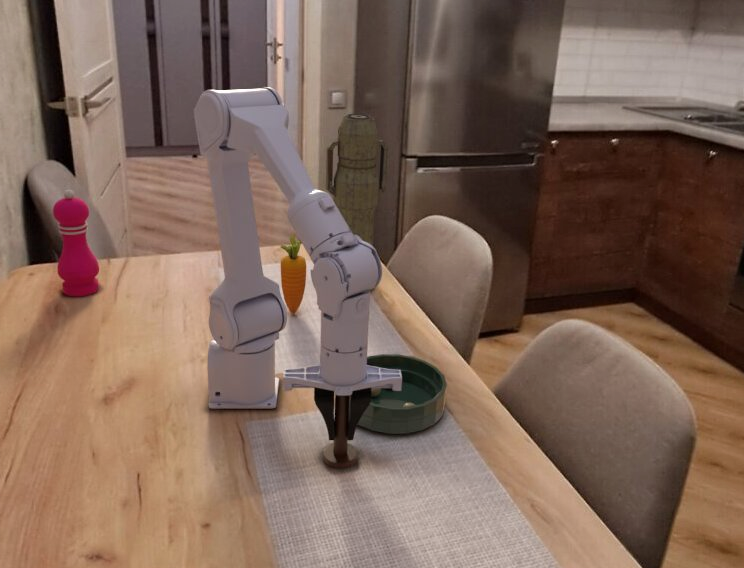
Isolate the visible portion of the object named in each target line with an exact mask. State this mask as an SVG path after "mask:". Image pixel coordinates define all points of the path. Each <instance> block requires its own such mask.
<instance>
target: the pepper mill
mask: <svg viewBox="0 0 744 568" xmlns="http://www.w3.org/2000/svg"><path fill="white" fill-rule="evenodd" d="M52 214H53V218H54V219H55V220H56V221H57V222H58V224H57V227H58V232H59V234H61V238H62V245H63V246H62V251H61V254H60V256H59V259H58V262H57V275H58V277H59V278H60V279H61V280H63V281H62V283H61V286H62V293H63V294H64V295H66V296H69V297H87V296H90V295H92V294H95V293H97V292H98V291H99V289H100V287H99V280H98V278H96V277H97V276H98V274H99V272H100V265H99V262H98V259H97V258H96V256H95V254H94V253H93V251H92V250H91V248H90V246H89V244H88V240H87V231H89V227H88V225H89V224H88V222H87V219H88V218H89V216H90V209H89V206H88V204H87V203H86V202H85V201H84V200H83V199H81V198H79V197H75V191H73V190H72V189H66V190H64V192H63V198H60V199H58V200H57V201H56V202H55V204H54V205H53V208H52Z"/></svg>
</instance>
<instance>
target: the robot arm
mask: <svg viewBox="0 0 744 568" xmlns="http://www.w3.org/2000/svg"><path fill="white" fill-rule="evenodd" d="M193 116H194V123H195V129H196V135H197V143H198V147H199V154H200V156H201V157H203V158H206V163H207V170H208V175H209V182H210V188H211V189H210V190H211V196H212V202H213V203H212V204H213V209H214V215H215V221H216V228H217V234H218V235H217V236H218V240H219V249H220V253H221V254H220V255H221V261H222V267H223V273H224V279H223V280H222V281H221V283H220V284H219V285H218V286H217V287H216V288H215V289H214V290H213V291H212V293H210V295H209V297H208V299H209V316H208V327H209V331H210V334H211V337H212V339H211V340H210V342H209V345H208V351H207V385H208V408H209V409H213V410H214V409H215V410H216V409H220V410H221V409H226V410H227V409H231V410H234V409H236V410H237V409H241V410H242V409H246V410H247V409H249V410H251V409H252V410H253V409H255V410H256V409H259V410H260V409H276V408H277V402H278V395H279V387H280V378H279V377H276V341H278V340H280V332H282V331H283V330H284V329H285V328H286V327H287V322H288V311H287V309H288V308H287V305H286V303H285V301H284V299H283V297H282V293H281V289H280V284H279V283H277V282H276V281H274V280H273V279H271V278H270V277H268V276H265V275H264V271H263V270H264V269H263V264H262V263H263V262H262V256H261V249H260V242H259V241H260V240H259V235H258V226H257V220H256V213H255V212H256V211H255V206H254V199H253V191H252V185H251V176H250V170H249V162H250V161H251V159H252V157H253V156H254V155H256V156H257V158H258V159H259V160H260V161H261V163H262V164H263V166H264V167H265V169H266V170H267V172H268V173H269V175H270V176H271V178H272V179H273V181H274V182H275V183H276V186H277V187H278V188H279V189H280V191H281V192H282V193H283V195H284V197H285V198H286V199H287V201H288V203H289V206H288V210H287V215H286V216H287V220H288V221H289V223H290V225H291V227H292V229H293V230H294V232H295V234H296V235H297V237H298V239H299V241H300V242H301V245H302V246H303V247H304V249H305V251H306V253H307V255H308V256H309V258H310V260H311V262H312V263H313V268H312V269H310V278H311V282H312V285H313V288H314V290H315V293H316V305H317V306H318V310H319V311H320V341H319V342H320V343H319V344H320V345H319V354H320V355H319V364H315V365H308V366H304V367H297V368H283V375H282V392H291V391H293V389H313V400H314V401H313V402H314V403H315V406H316V407H317V409H318V410H319V411H318V412H320V414H321V416H322V418H323V420H324V423H325V427H326V430H327V434H328V441H334V437H335V430H334V417H335V394H336V395H339V396H348V395H350V408H349V423H348V441H354V437H355V434H356V430H357V427H358V426H359V425H358V423H359V420H360V418H361V417H362V415H363V413H364V412H365V410H366V409H367V408H368V406H369V405H370V403H371V399H372V395H371V388H392V390H393V391H401V387H402V374H401V370H393V369H385V368H380V367H374V366H369V365H367V357H368V348H369V347H368V346H369V330H370V312H371V311H370V310H371V290H372V289H375V288H376V287H378V285H379V284H380V283H381V280H382V277H383V265H382V261H381V259H380V255H379V254H378V251H377V249H376V248H375V247H374V245H373V246H372V245H370V244H369V243H367V242H364V241H363V240H362V239H361V238H360V236H357V235H353V233H352V232H351V230H350V228H349V227H348V225H347V223H346V221H345V220H344V218H343V216H342V215H341V213H340V211H339V210H338V208H337V206H336V205H335V203H334V201H333V197H332V196H331V195H330V193H328V191H324V190H320V189H317V188H316V187H315V184H314V183H313V181H312V179H311V177H310V175H309V173H308V170H307V169H306V167H305V165H304V162H303V160H302V159H301V157H300V155H299V152H298V150H297V148H296V146H295V143H294V141H293V139H292V138H291V135H290V133H289V132H288V128H289V110H288V109H287V107H286V106H285V103H284V102H283V99H282V97H281V96H280V94H279V92H278V91H277V90H276V89H274V88H272V87H269V86H263V87H261V88H247V89H226V90H217V89H207V90H205V91H203V92H202V93H201V95H200V96H199V98H198V100H197V102H196V105H195V107H194V109H193Z"/></svg>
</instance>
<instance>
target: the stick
mask: <svg viewBox="0 0 744 568" xmlns="http://www.w3.org/2000/svg"><path fill="white" fill-rule="evenodd" d="M349 400H350V395H348V396H339V395H336V394H335V393H334V430H335V437H334V440H333V443H330V444H328V445H327V446H326V447H324V449H323V451H322V459H323V462H324V463H325V464H326V465H327V466H330V467H331V468H335V469H346V468H349V467H351V466H353V465H354V464H355V463H356V462H357V460H358V451H357V449H356V447H355V446H353V445H352V444H350V443H349V440H348V423H349Z"/></svg>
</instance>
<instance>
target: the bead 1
mask: <svg viewBox="0 0 744 568" xmlns="http://www.w3.org/2000/svg"><path fill="white" fill-rule="evenodd" d="M380 391H381V388H371V395H372V397H375V396H377V395H379V393H380Z"/></svg>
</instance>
